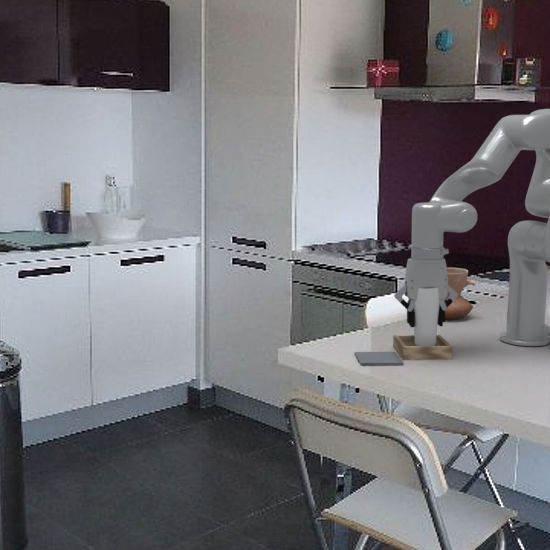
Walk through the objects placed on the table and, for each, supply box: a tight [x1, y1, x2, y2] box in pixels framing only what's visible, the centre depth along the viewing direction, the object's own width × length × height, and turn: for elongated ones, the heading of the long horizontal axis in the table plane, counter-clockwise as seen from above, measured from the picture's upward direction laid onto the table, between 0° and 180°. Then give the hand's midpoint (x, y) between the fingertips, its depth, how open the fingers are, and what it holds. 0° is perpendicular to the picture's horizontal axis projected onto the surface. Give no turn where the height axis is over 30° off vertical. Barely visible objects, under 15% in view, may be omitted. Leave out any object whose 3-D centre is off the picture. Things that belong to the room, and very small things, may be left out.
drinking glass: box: [413, 288, 440, 346], centre depth 208 cm, size 7×7×15 cm
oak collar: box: [392, 334, 454, 360], centre depth 209 cm, size 12×12×3 cm
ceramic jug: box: [443, 267, 477, 321], centre depth 249 cm, size 18×14×14 cm
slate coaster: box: [354, 351, 405, 367], centre depth 203 cm, size 10×10×1 cm
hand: (425, 325), depth 209 cm, fingers closed on drinking glass, 6 cm apart
